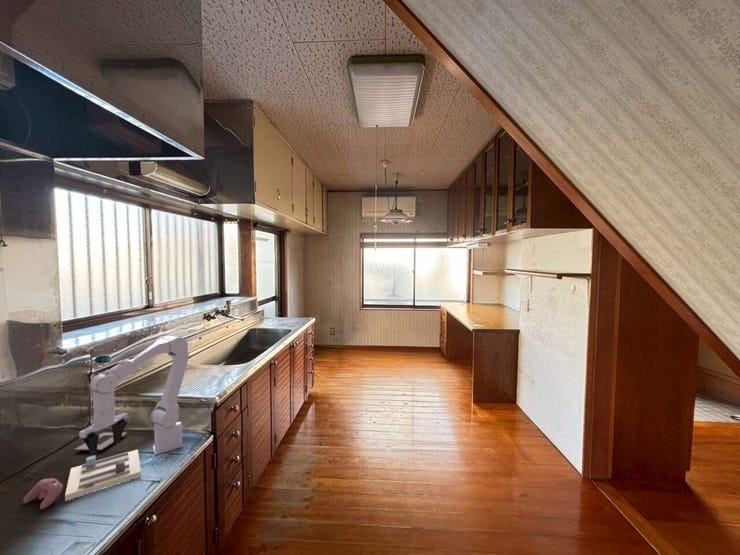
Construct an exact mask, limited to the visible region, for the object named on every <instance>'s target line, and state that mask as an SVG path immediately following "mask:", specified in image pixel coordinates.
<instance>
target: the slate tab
mask: <svg viewBox="0 0 740 555" xmlns="http://www.w3.org/2000/svg"><path fill="white" fill-rule="evenodd" d="M96 455H97V454H96ZM96 455H91V456H88V457H86V460H85V464H86V469H88V468H92V467H95V466H96V461H97V460H96Z"/></svg>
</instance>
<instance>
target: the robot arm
mask: <svg viewBox="0 0 740 555" xmlns="http://www.w3.org/2000/svg"><path fill="white" fill-rule="evenodd" d="M188 346H189V342H188V341H187V340H186V339H185V338H184V337H183V336H173V335H168V334H167V335H163V336H162V337H161V338H159V339H157V340H155V342H154V343H153V344H151V345H150V346H148V347H147V348H146V349H144V350H142V351H141V352H140V353H138V354H137V355H135V357H133V358H132V359H127V358H126V359H123V360H122V359H121V360H120V361H118V364H116V365H115V366H113V367H112V368H110V369H106V370H105V371H104V372H103V373H101V374H97V375H95V376H94V377H93V378H92V379H91V381H90V383H89V384H88V387H89V388H90V389H91V390H92V396H93V397H92V402H93V404H92V407H93V424H91V425H89V426H88V427H86V428H84V429H82V430H80V431H79V432H78V434H79V435H78V436H79V438H80V439H81V440H82V441H83V443H86V445H87V447H88V449H89V451H88V452H89V455H91V456H94V455H97V454H98V451H97V443H98V438H99V435H100V434H96V433H97V432H100V431H101V430H104V429H105V428H108V427H111V430H112V433H113V441H114V443H113V444H120V443H121V439H122V437H121V436H122V433H124V430H125V428H126V426H127V425H128V421H127V420H128V419H129V418H128V416H129V415H128V413H125V412H122V413H120V414H117V415H116V407H115V405H116V404H115V403H116V402H115V400H116V399H115V390H116V388H117V386H118V384H120V383H121V382H123V381H124V380H126V379H127V378H129V377H130V376H131V375H133V374H134V373H136V372H137V369H138V367H139V366H141V365H142V364H144V363H146V362H147V361H149V360H151V359H153V358H154V357H155V356H157V355H161V354H168V355H169V357H170V358H171V359H172V362H171V366H170V370H169V373H168V377H167V380H166V382H165V386H164V390H163V392H162V393H163V394H162V397H161V399H160V400H159V401H158V402H157V403H156V405H155V407H154V409H153V410H152V412H151V414H150V420H151V421H152V422H153V423H154V424H153V425H154V427H153V428H154V430H153V432H154V444H153V446H152V449H153V453H154V455H160V454H163V453H165V452H169V451H172V450H177V449H179V448H182V447H184V445H183V444H184V443H183V439H184V437H183V425H182V422H181V421H178V420H179V418H180V414H179V410H180V406H179V403H178V397H179V394H180V392H181V387H182V383H183V380H184V376H185V373H186V370H187V369H186V368H187V365H188V362H189V360H190V358H189V357H190V356H189V355H190V354H189V350H188Z"/></svg>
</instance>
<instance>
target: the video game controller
mask: <svg viewBox="0 0 740 555" xmlns="http://www.w3.org/2000/svg"><path fill="white" fill-rule="evenodd" d="M63 487H64V485H63V483H61V482H60V481H59V480H58V479H57V478H54V477H51V478H44V479H40V480H39V481H38V482H37V483H36V484H35V485H34V486H33V487H32V488H31V490H30V491H29V492H27V494H26V495H25V496H24V497H23V499H22V502H23V504H27V503H30V502H31V501H33V500H34V499H35V498H36V497H38V499H39V500H42V502H41V503H40V506H39V509H40V510H45V509H46V508H48V507H50V506H51V504H53V503H54V501H56V499H57V497H58V496H59V495H61V493H62V491H63Z"/></svg>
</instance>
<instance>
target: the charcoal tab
mask: <svg viewBox="0 0 740 555" xmlns="http://www.w3.org/2000/svg"><path fill="white" fill-rule="evenodd" d="M123 471H125V461H124V460H121V461H117V462H116V474H117V473H120V472H123Z"/></svg>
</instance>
